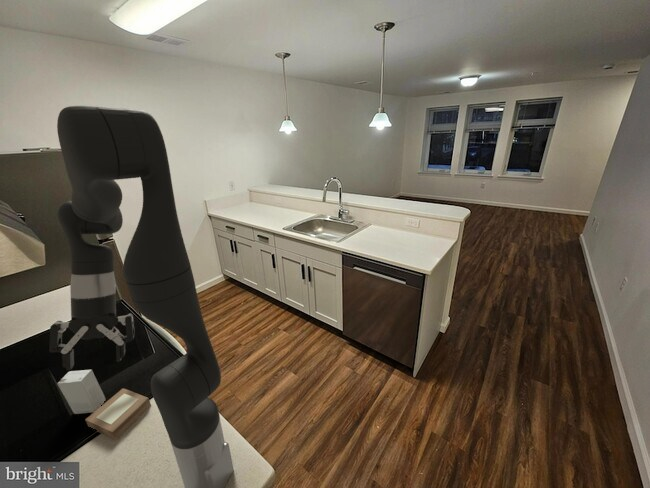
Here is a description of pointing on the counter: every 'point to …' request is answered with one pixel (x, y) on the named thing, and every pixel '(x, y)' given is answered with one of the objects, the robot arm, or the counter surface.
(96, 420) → the walnut plinth
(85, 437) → the counter surface
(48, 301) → the counter surface
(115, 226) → the robot arm
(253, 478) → the counter surface
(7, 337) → the counter surface
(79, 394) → the skincare box
